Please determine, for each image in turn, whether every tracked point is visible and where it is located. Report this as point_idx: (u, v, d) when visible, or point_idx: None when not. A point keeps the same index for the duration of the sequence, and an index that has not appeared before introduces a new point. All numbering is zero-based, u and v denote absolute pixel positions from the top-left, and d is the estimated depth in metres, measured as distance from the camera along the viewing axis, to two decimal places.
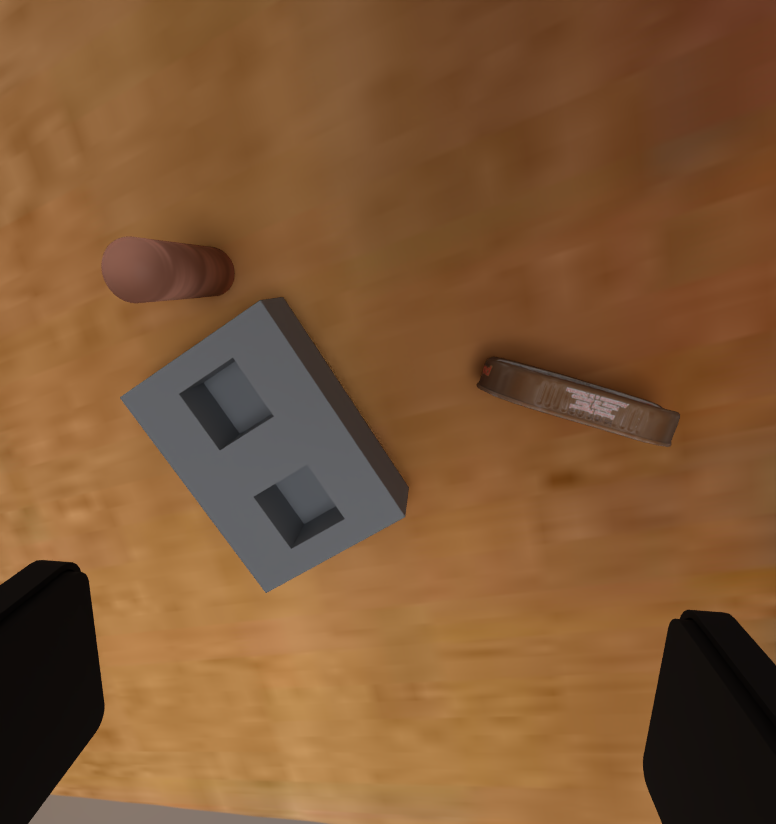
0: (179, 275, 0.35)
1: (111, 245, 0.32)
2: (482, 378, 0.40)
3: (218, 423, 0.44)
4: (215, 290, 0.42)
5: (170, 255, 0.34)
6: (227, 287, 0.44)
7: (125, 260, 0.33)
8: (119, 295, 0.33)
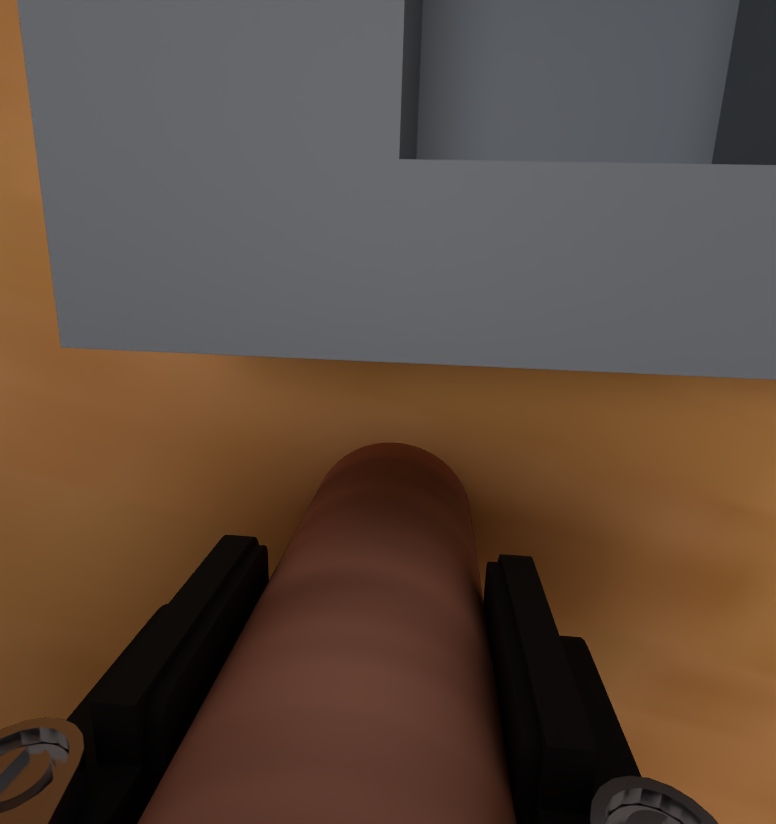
0: None
1: None
2: None
3: None
4: (366, 485, 0.10)
5: None
6: (366, 453, 0.13)
7: None
8: None
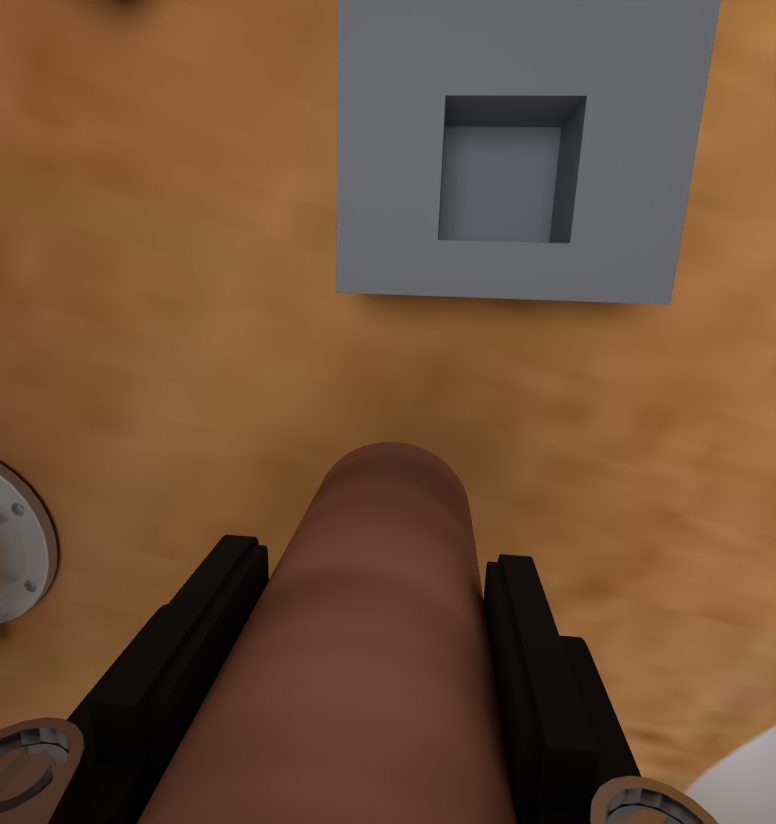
0: None
1: None
2: None
3: (566, 160, 0.23)
4: (366, 484, 0.11)
5: None
6: (367, 452, 0.13)
7: None
8: None
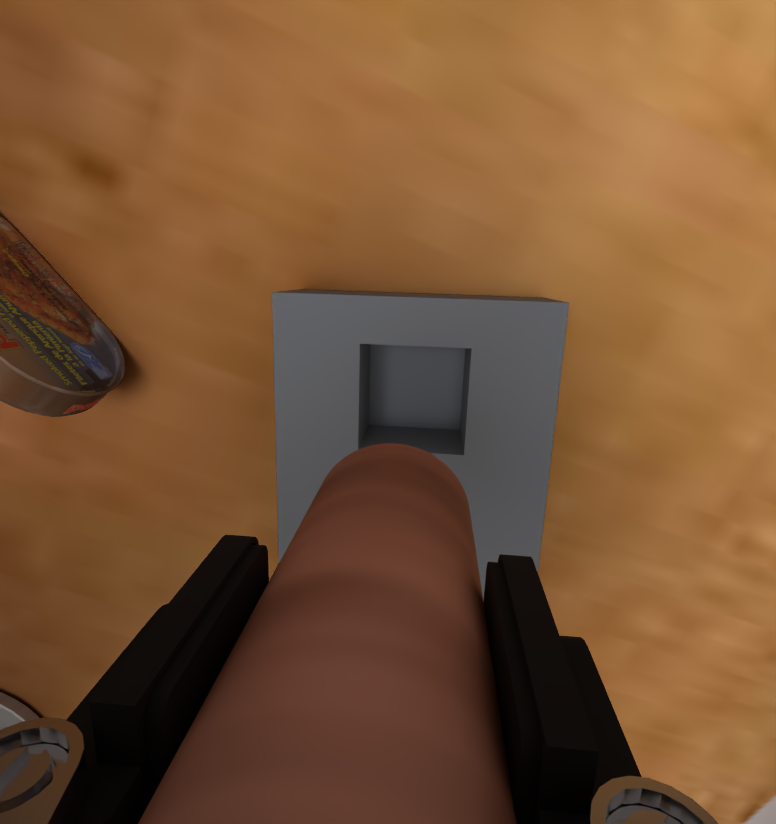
0: None
1: None
2: (91, 399, 0.29)
3: None
4: (366, 486, 0.10)
5: None
6: (366, 453, 0.13)
7: None
8: None
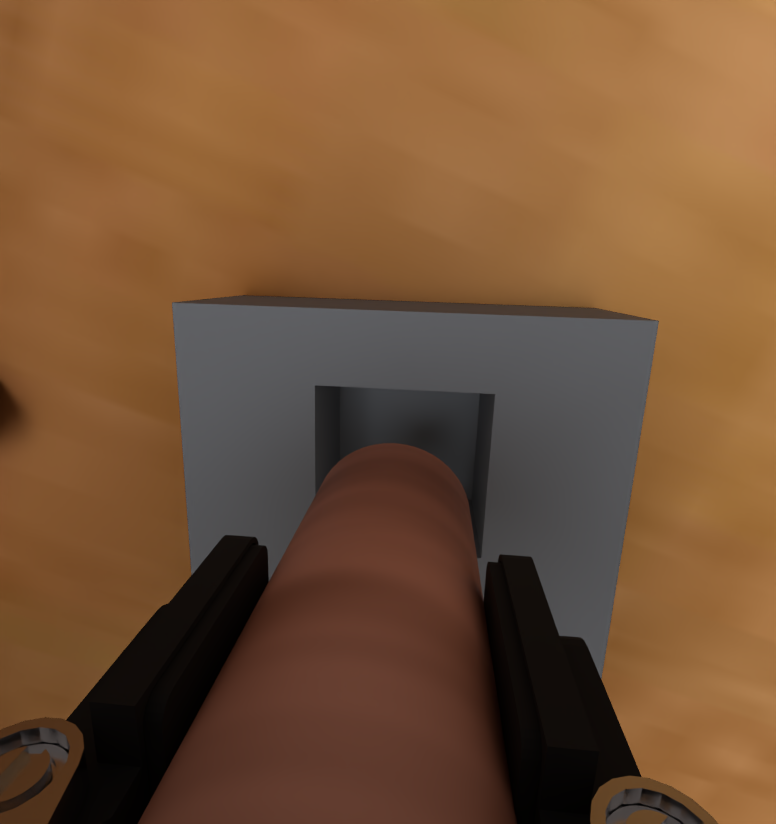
0: None
1: None
2: None
3: None
4: (366, 485, 0.10)
5: None
6: (366, 453, 0.13)
7: None
8: None
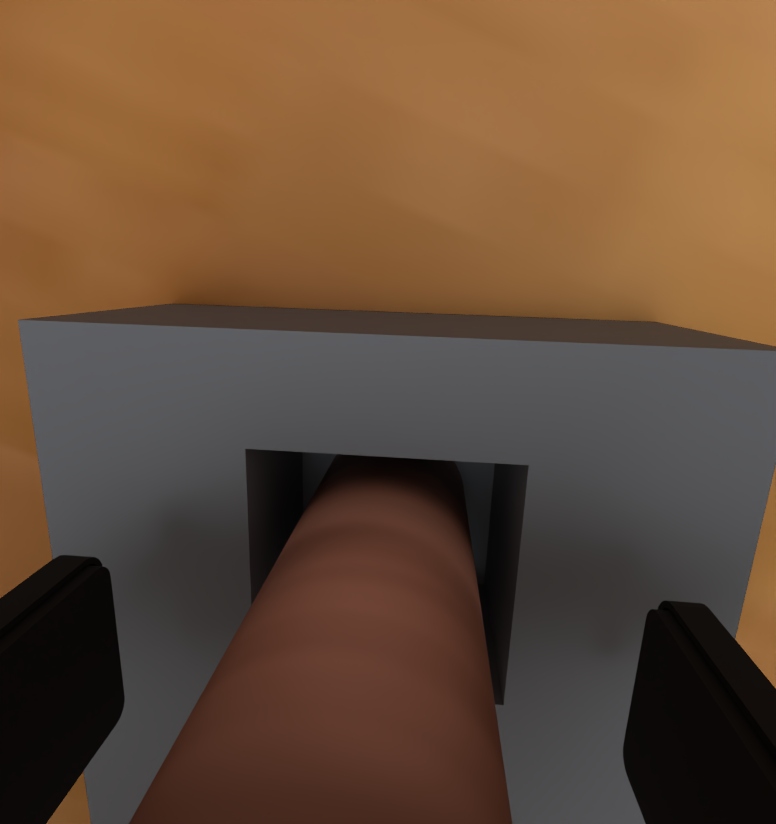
0: (178, 749, 0.05)
1: None
2: None
3: None
4: (372, 461, 0.12)
5: None
6: None
7: None
8: None
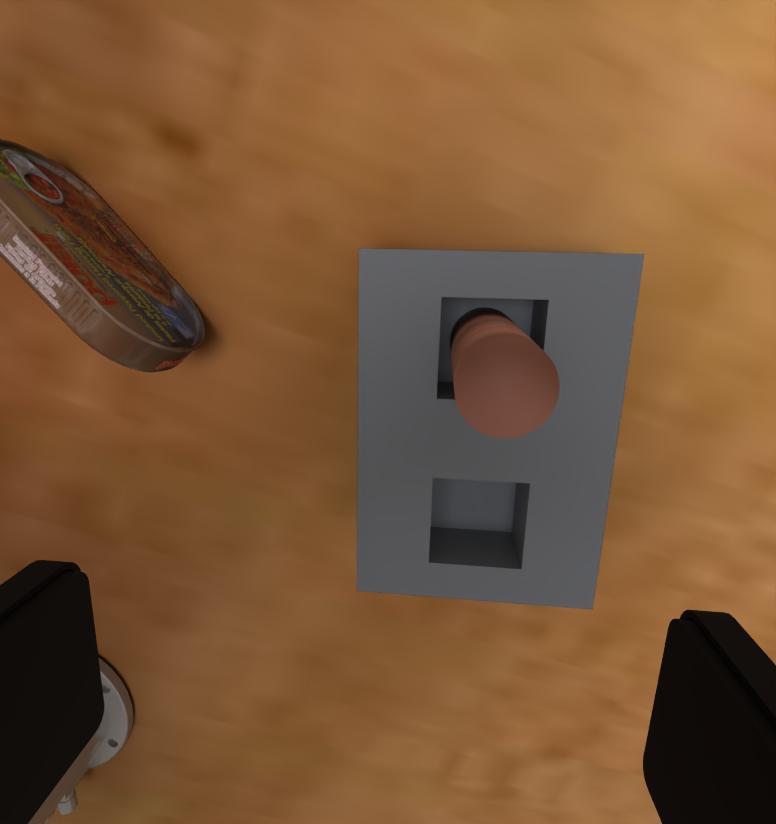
0: (468, 344, 0.22)
1: (505, 435, 0.21)
2: (180, 356, 0.31)
3: (521, 495, 0.32)
4: (483, 312, 0.29)
5: (454, 373, 0.22)
6: (476, 309, 0.31)
7: (505, 406, 0.21)
8: (553, 374, 0.20)
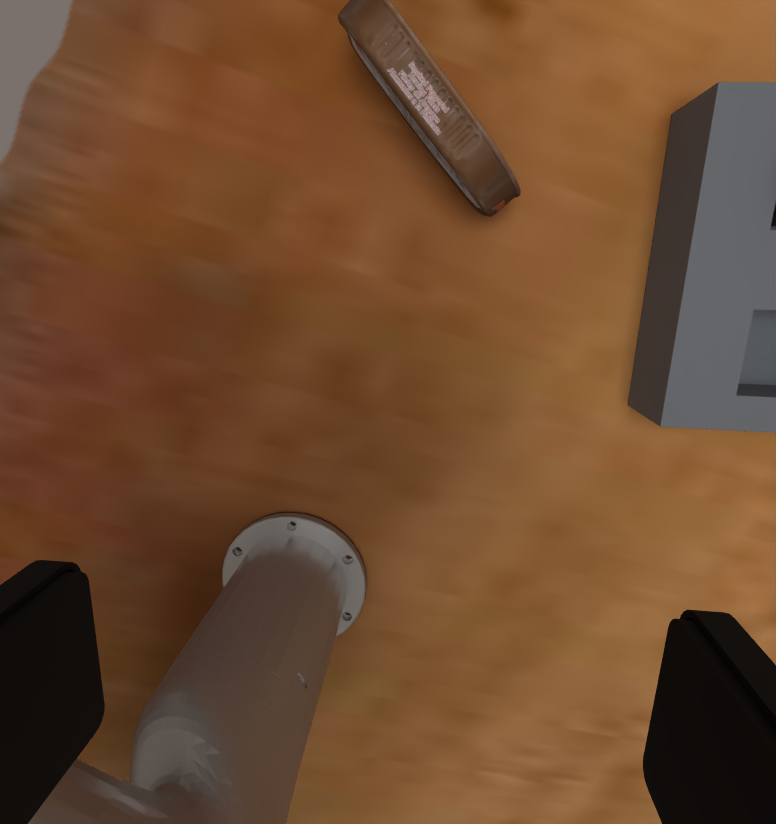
0: None
1: None
2: (509, 200, 0.33)
3: None
4: None
5: None
6: None
7: None
8: None
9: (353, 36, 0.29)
